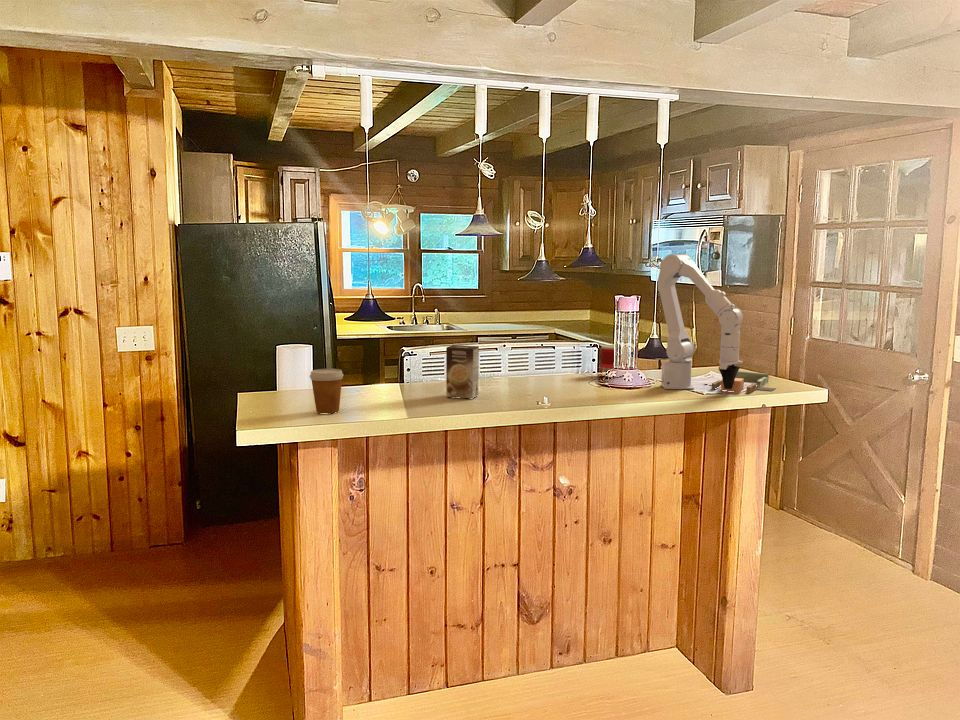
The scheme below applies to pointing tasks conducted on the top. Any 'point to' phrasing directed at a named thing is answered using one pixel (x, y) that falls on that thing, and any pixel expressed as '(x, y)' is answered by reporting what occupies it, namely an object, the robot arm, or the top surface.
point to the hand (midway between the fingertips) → (728, 388)
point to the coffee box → (462, 371)
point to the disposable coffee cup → (327, 389)
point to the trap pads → (765, 389)
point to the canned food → (607, 357)
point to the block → (735, 385)
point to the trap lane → (748, 376)
